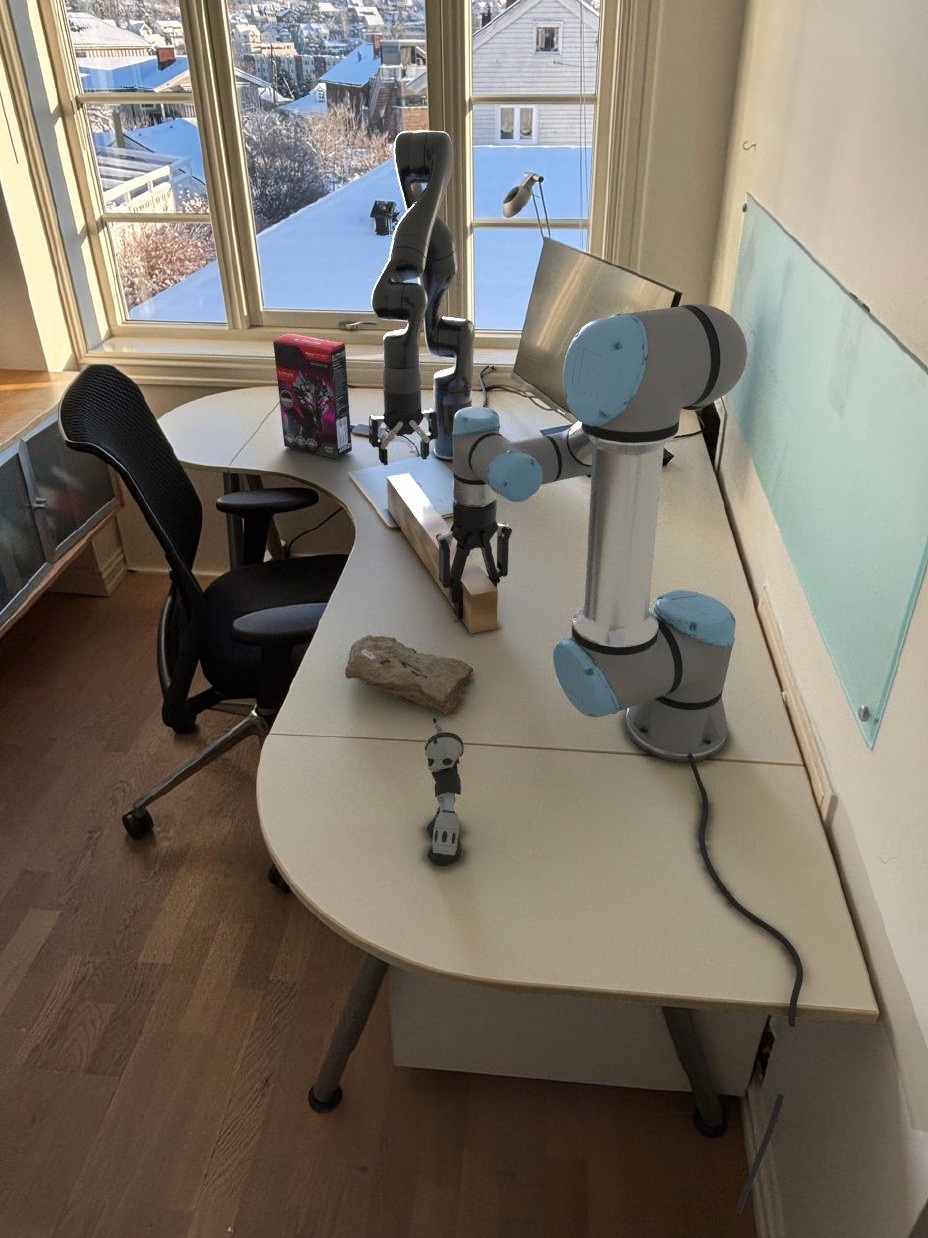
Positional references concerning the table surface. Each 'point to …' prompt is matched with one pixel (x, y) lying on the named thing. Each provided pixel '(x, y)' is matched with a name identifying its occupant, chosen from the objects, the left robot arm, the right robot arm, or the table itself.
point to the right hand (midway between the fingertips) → (472, 612)
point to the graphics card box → (313, 395)
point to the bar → (421, 532)
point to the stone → (408, 672)
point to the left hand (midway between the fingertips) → (404, 461)
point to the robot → (444, 794)
